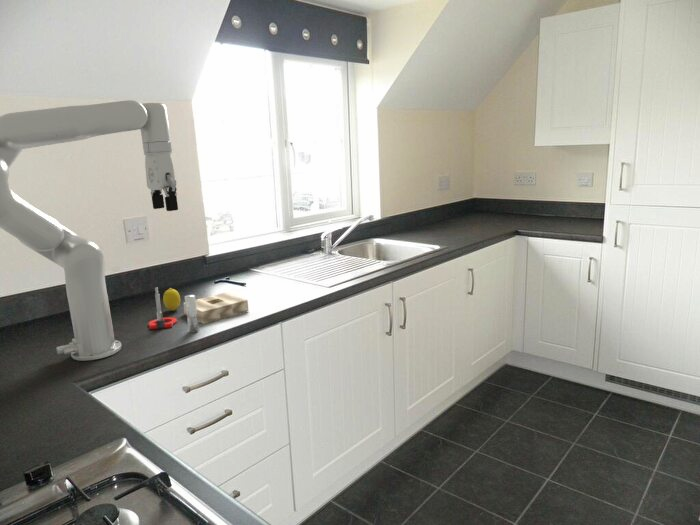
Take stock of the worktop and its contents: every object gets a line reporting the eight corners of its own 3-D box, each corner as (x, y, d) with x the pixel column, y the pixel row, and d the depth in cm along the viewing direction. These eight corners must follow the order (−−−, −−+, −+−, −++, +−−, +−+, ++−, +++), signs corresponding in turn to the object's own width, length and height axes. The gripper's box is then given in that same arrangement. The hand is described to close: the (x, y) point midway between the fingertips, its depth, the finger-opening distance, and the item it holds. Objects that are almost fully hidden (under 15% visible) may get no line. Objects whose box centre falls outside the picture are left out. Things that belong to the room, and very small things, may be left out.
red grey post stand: (151, 322, 167) (146, 330, 158) (146, 283, 165) (141, 289, 156) (178, 319, 169) (175, 327, 160) (174, 280, 167) (170, 286, 158)
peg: (191, 333, 154) (187, 298, 151) (187, 331, 156) (182, 296, 154) (201, 331, 156) (196, 295, 153) (196, 328, 158) (192, 294, 155)
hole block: (203, 323, 162) (202, 311, 161) (184, 314, 172) (183, 302, 171) (248, 311, 172) (247, 299, 171) (228, 303, 182) (227, 292, 182)
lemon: (175, 307, 181) (173, 285, 179) (185, 309, 177) (182, 287, 175) (161, 311, 177) (158, 289, 175) (170, 314, 173) (167, 291, 171)
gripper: (133, 150, 150) (141, 209, 154) (156, 148, 137) (164, 213, 141) (158, 149, 155) (166, 206, 159) (183, 147, 142) (190, 209, 146)
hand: (165, 209), depth 150 cm, fingers open, 9 cm apart
